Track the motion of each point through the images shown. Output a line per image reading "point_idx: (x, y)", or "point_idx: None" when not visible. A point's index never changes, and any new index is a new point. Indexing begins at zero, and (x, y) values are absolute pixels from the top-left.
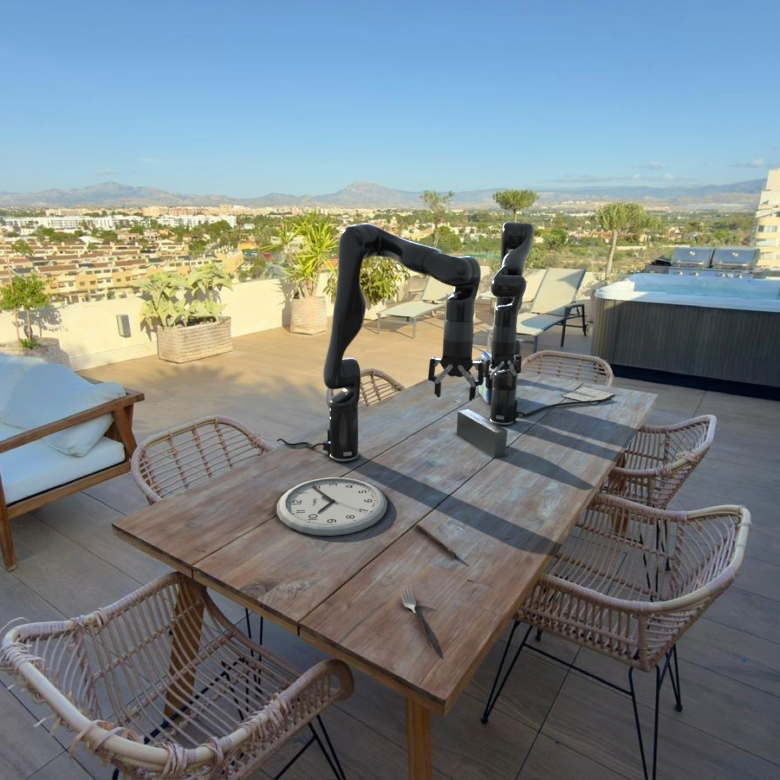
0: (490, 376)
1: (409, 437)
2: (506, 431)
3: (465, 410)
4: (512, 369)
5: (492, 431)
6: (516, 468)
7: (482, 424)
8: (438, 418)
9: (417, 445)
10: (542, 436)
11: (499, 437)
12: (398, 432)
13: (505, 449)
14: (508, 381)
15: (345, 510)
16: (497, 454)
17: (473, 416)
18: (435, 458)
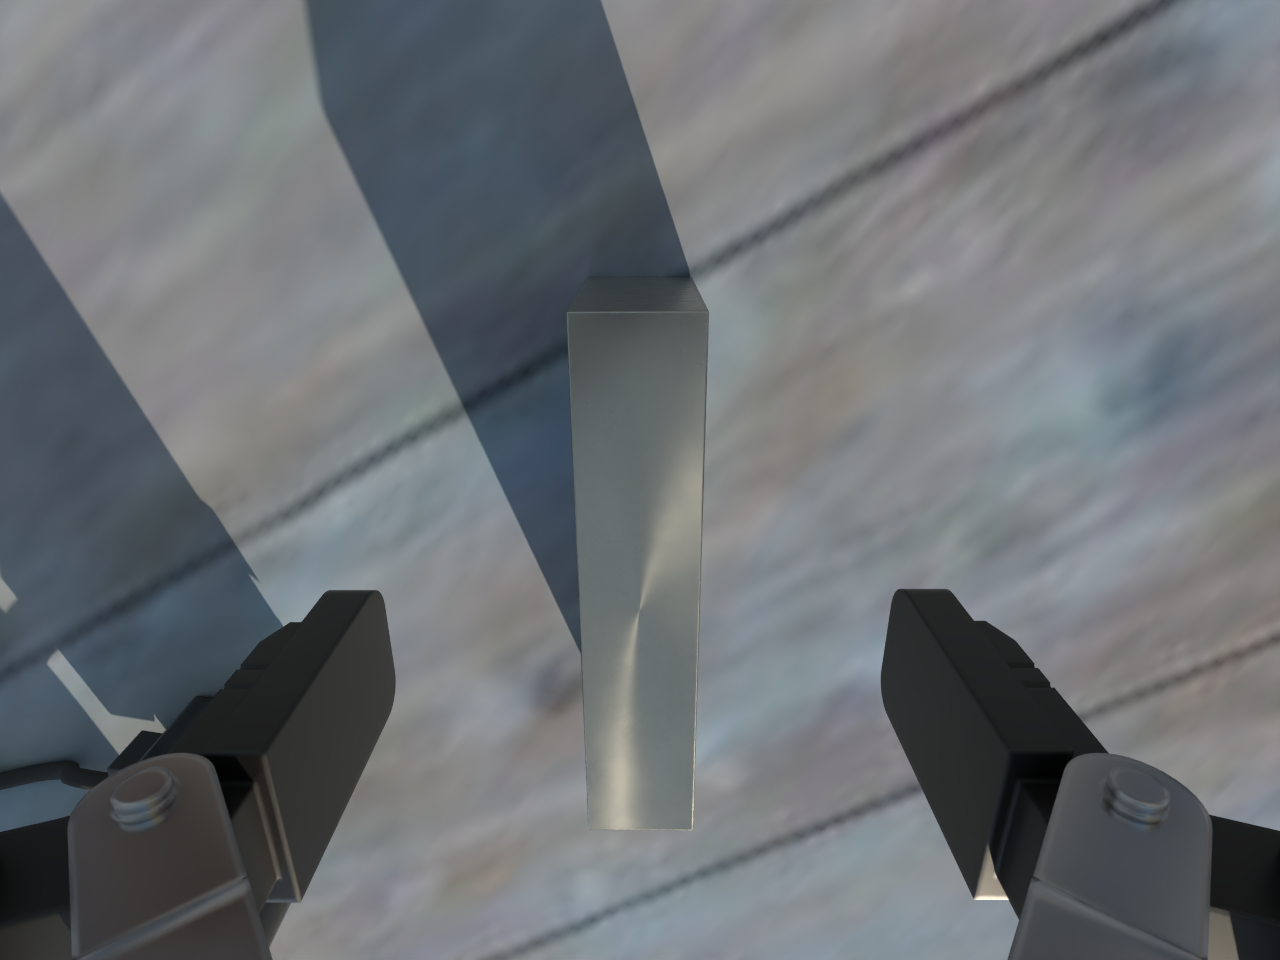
0: (1194, 824)
1: None
2: (579, 308)
3: (629, 817)
4: (188, 954)
5: (706, 366)
6: (652, 28)
7: (697, 527)
8: (639, 907)
9: (1021, 645)
10: (111, 449)
11: (659, 301)
12: None
13: (585, 283)
14: (363, 742)
15: None
16: (662, 278)
17: (650, 699)
18: (1065, 438)
